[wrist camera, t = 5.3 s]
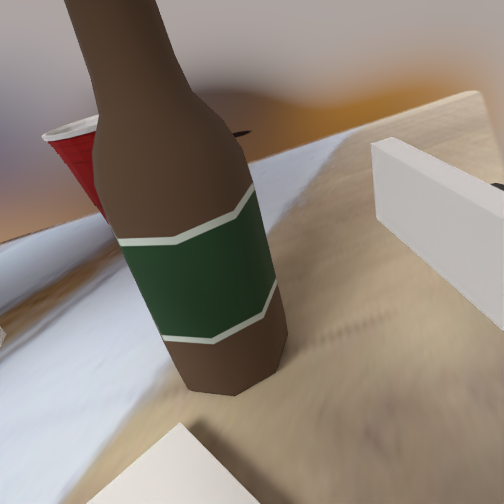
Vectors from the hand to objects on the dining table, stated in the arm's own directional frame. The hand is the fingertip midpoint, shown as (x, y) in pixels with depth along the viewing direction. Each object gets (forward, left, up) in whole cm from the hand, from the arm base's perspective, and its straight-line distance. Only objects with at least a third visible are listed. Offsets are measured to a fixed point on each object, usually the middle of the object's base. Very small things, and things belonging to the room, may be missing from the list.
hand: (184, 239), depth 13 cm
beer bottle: (-7, +4, -13) cm, 16 cm away
